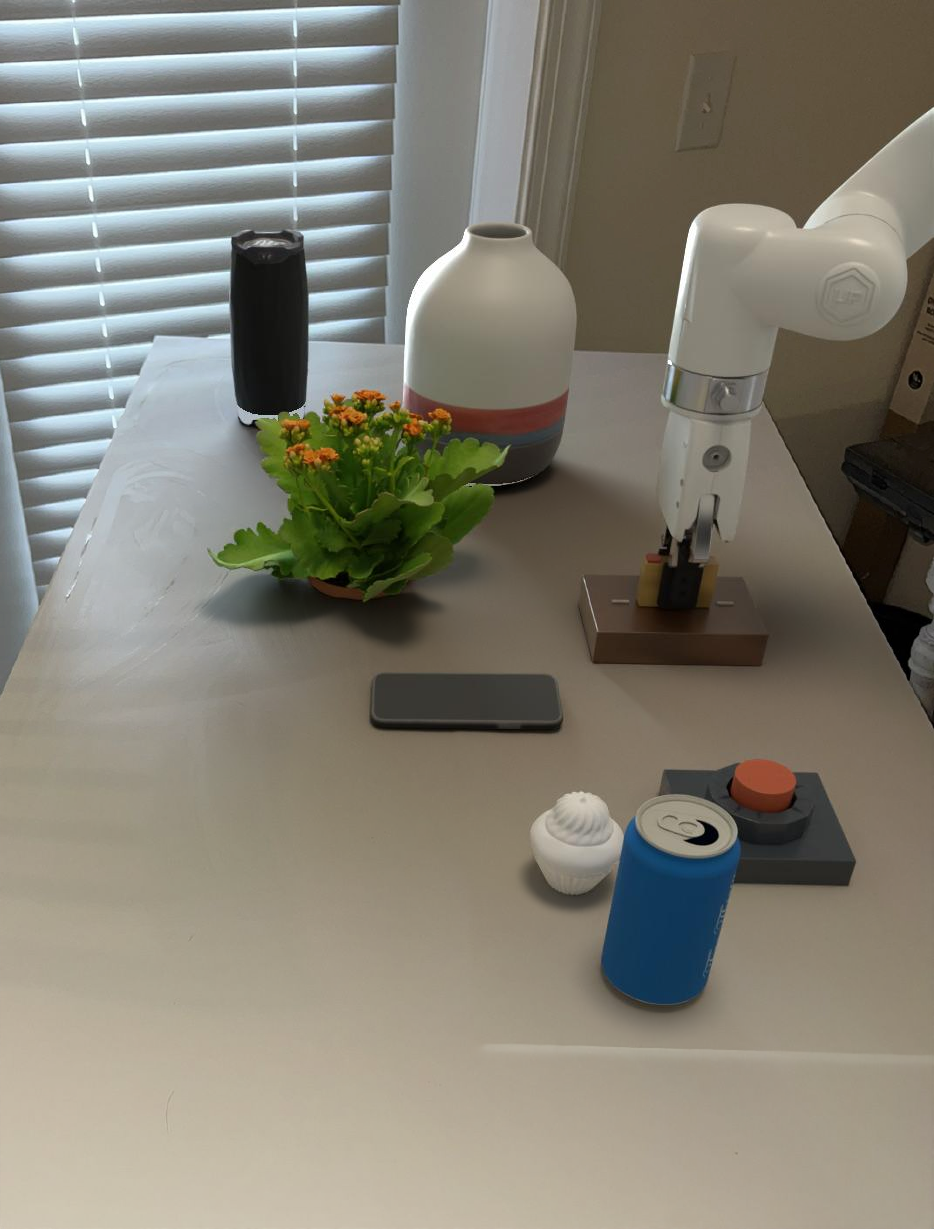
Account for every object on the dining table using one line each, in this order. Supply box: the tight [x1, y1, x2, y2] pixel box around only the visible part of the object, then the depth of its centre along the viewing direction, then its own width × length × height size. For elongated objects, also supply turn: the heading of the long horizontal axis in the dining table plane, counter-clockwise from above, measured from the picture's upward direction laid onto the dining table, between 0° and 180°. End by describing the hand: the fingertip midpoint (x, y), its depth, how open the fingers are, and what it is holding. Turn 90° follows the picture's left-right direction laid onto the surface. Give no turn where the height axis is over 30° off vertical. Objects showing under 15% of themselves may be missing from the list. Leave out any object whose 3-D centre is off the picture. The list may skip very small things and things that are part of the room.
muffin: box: [529, 790, 624, 896], centre depth 88 cm, size 6×6×7 cm
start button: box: [730, 758, 796, 813], centre depth 91 cm, size 4×4×2 cm
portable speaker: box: [228, 229, 310, 415], centre depth 148 cm, size 9×9×20 cm
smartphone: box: [369, 671, 564, 730], centre depth 106 cm, size 7×1×15 cm
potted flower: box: [206, 389, 511, 603], centre depth 119 cm, size 25×24×18 cm
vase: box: [402, 221, 578, 484], centre depth 136 cm, size 17×17×24 cm
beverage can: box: [600, 794, 741, 1006], centre depth 79 cm, size 6×6×12 cm
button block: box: [658, 762, 857, 887], centre depth 92 cm, size 11×10×4 cm
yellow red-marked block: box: [636, 552, 720, 608], centre depth 112 cm, size 6×2×4 cm, turn 88°
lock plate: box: [578, 574, 770, 667], centre depth 114 cm, size 14×10×3 cm
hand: (673, 598), depth 113 cm, fingers closed on yellow red-marked block
